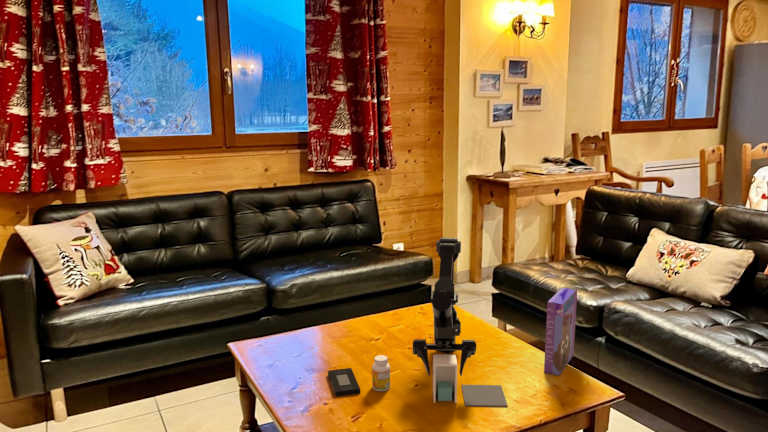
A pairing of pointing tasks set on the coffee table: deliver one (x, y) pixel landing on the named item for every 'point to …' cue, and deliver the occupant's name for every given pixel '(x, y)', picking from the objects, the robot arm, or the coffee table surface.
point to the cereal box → (560, 330)
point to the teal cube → (444, 391)
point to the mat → (484, 395)
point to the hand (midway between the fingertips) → (444, 375)
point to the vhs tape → (343, 382)
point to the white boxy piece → (444, 372)
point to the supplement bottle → (381, 373)
